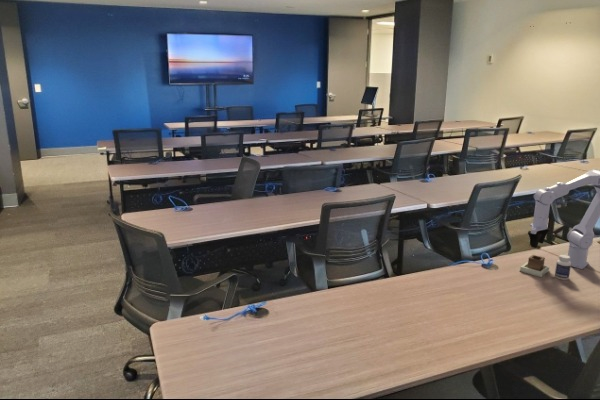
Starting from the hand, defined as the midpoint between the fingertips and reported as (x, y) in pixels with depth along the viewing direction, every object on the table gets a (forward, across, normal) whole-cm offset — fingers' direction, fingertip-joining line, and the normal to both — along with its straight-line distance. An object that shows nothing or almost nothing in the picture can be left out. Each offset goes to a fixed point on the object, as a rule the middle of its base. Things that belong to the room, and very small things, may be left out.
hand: (537, 244), depth 205 cm
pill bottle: (+10, +5, +13) cm, 17 cm away
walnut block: (+9, +7, +3) cm, 12 cm away
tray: (+10, +7, +2) cm, 12 cm away
